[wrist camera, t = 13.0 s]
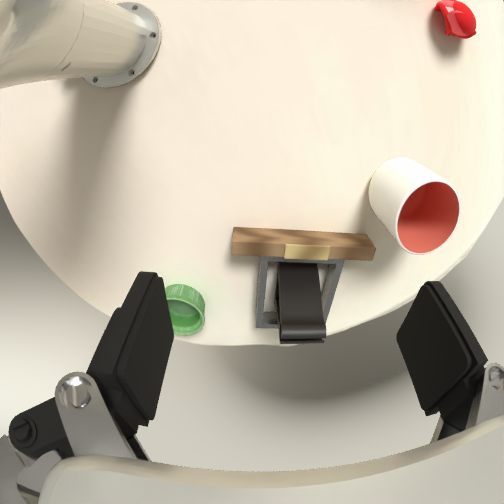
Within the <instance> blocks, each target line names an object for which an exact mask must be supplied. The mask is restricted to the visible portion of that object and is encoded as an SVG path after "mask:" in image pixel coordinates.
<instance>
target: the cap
mask: <svg viewBox="0 0 504 504" xmlns="http://www.w3.org/2000/svg"><path fill="white" fill-rule="evenodd" d="M445 6H447V7H452V8H454V11H451V12H449V13H448V11H447V9H446V7H445ZM435 9H436V10H437V11H440V10H442V13H443V16H444V19H445V23H446V32H445V33H446V34H447V35H450V34H451V35H453V36H456V37H460V38H466V39H467V38H470V37H472V36H473V35H475V34H476V31H475V29H476V20H475V17H474V15H473V13H472V11H471V10H470V9H469V8H468V7H467V6H466V5H465V4H463V3H462V2H459V1H456V0H441V1H439V2H438V3H437V4H436V7H435Z"/></svg>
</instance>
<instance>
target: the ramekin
mask: <svg viewBox="0 0 504 504" xmlns="http://www.w3.org/2000/svg"><path fill="white" fill-rule="evenodd" d="M165 293H166V298H167V302H168V307H169V312H170V317H171V321H172V325H173V330H174V334H177V335H192V334H195V333H197V332H199V331H200V330H201V329H202V328H203V326H204V322H205V318H204V309H205V303H204V299H203V297H202V296H201V294H200V293H199V292H198V291H196V290H195V289H193V288H191V287H189V286H186V285H181V284H175V285H171V286H168V287H167V288H165Z"/></svg>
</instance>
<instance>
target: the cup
mask: <svg viewBox="0 0 504 504" xmlns="http://www.w3.org/2000/svg"><path fill="white" fill-rule="evenodd" d="M368 194H369V202H370V205H371V208H372V210H373V211H374V213H375V214H376V215H377V217H378V218H379V219H380V220H381V222H382V223H383V224H384V225H385V227H386V228H387V229H388V230H389V232H390V233H391V234H392V236H393V237H394V238H395V240H396V241H397V242H398V244H399V245H400V246H401V247H402V248H403V249H404V250H405V251H407V252H409V253H411V254H416V255H423V254H428V253H431V252H433V251H435V250H437V249H438V248H440V247H441V246H442V245H444V244H445V243H446V242H447V241H448V239H449V238H450V237H451V236H452V234H453V232H454V231H455V229H456V227H457V224H458V221H459V217H460V208H461V207H460V199H459V196H458V193H457V191H456V190H455V188H454V187H453V186H452V185H451V184H450V183H449V182H447V181H446V180H444V179H443V178H441V177H440V176H438V175H437V174H435V173H434V172H432V171H430V170H429V169H427V168H425V167H424V166H422V165H420V164H419V163H417V162H415V161H414V160H411V159H408V158H402V157H400V158H394V159H391V160H388V161H387V162H385V163H384V164H382V165H381V166H380V167H379V168H378V169H377V170H376V172H375V173H374V175H373V177H372V179H371V182H370V185H369V193H368Z"/></svg>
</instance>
